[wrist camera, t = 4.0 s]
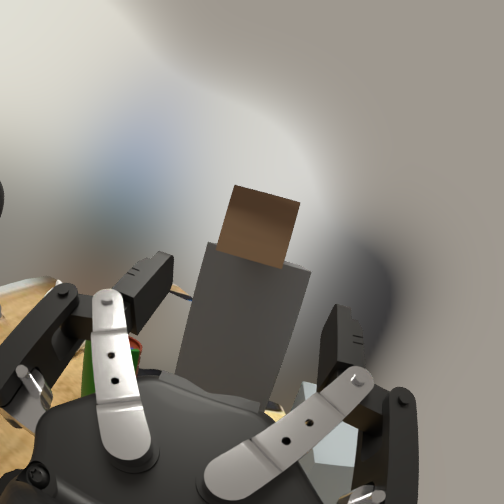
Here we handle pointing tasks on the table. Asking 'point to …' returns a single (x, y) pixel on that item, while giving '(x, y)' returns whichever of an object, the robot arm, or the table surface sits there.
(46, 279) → the table surface
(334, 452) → the blue-grey step
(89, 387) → the motor
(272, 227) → the walnut bar
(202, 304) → the charcoal stand
